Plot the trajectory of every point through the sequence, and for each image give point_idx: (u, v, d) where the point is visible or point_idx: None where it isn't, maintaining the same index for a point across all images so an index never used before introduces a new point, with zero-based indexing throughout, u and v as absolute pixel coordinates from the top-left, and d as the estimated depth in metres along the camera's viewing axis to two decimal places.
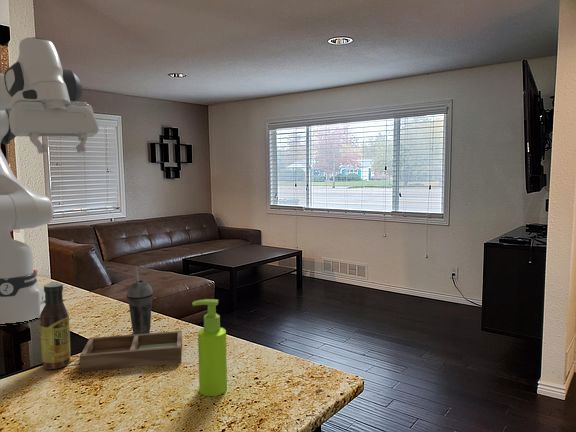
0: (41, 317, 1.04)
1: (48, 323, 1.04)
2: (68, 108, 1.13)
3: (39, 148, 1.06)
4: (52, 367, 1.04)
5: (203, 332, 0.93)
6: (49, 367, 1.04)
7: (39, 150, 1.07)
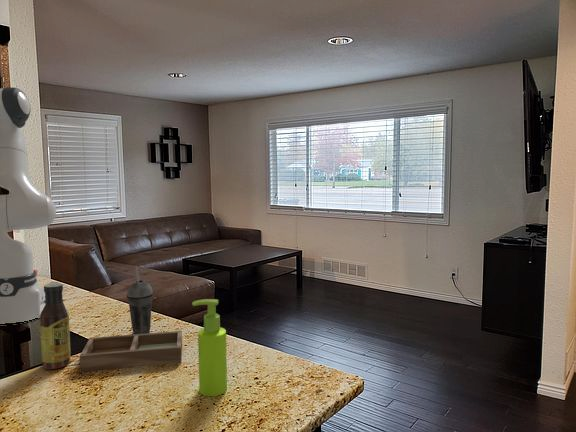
0: (41, 317, 1.04)
1: (48, 323, 1.04)
2: None
3: None
4: (52, 367, 1.04)
5: (203, 332, 0.93)
6: (49, 367, 1.04)
7: None
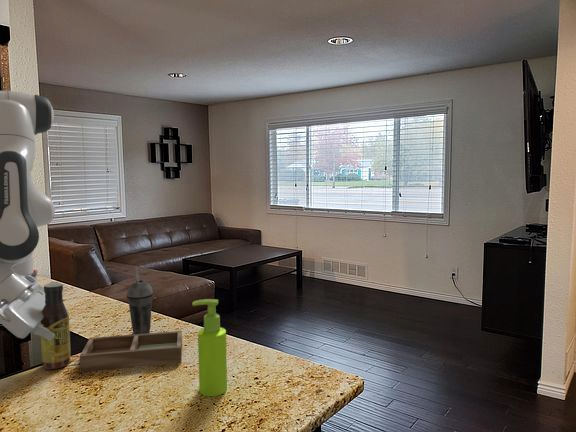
0: None
1: (48, 324, 1.03)
2: None
3: None
4: (52, 367, 1.04)
5: (203, 332, 0.93)
6: (49, 367, 1.04)
7: None
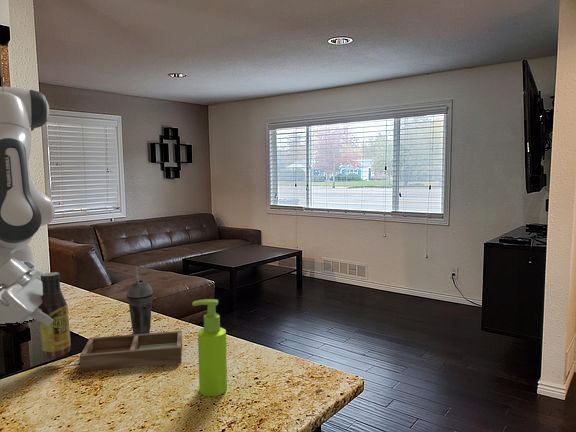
0: (39, 306, 1.04)
1: (46, 312, 1.03)
2: None
3: None
4: (52, 356, 1.04)
5: (203, 332, 0.93)
6: (49, 356, 1.04)
7: None
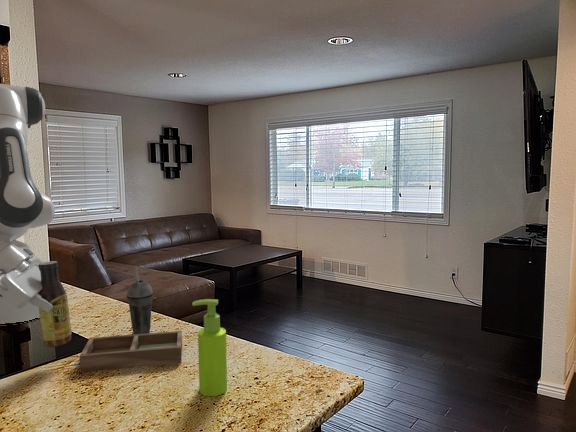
0: None
1: None
2: None
3: None
4: (53, 345, 1.04)
5: (203, 332, 0.93)
6: (50, 345, 1.04)
7: None
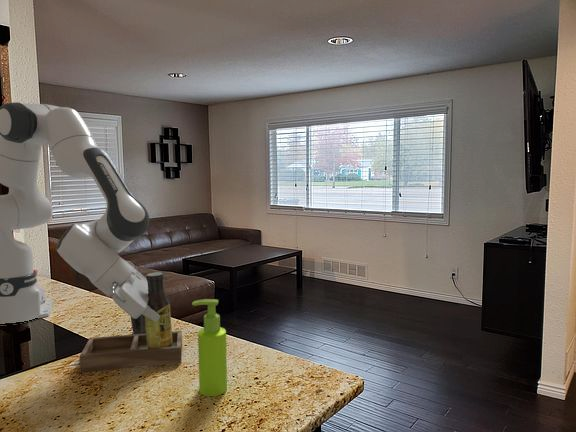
0: None
1: None
2: None
3: None
4: None
5: (203, 332, 0.93)
6: None
7: None
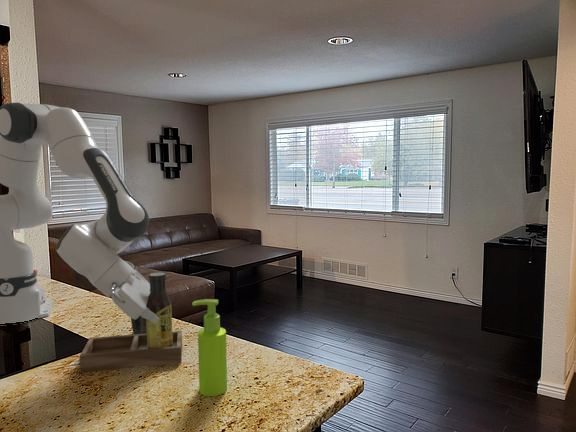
0: (147, 305, 1.09)
1: (155, 311, 1.08)
2: None
3: None
4: None
5: (203, 332, 0.93)
6: None
7: None
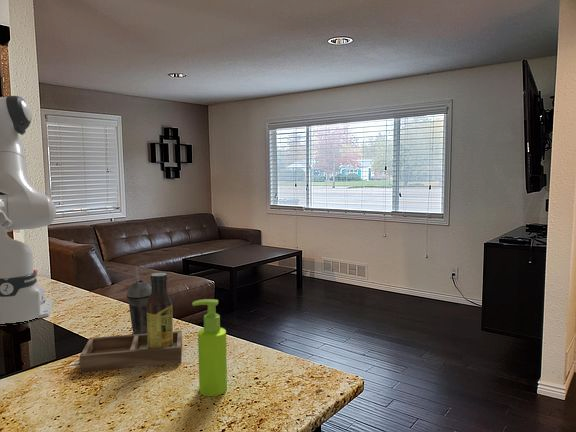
0: (148, 305, 1.09)
1: (156, 311, 1.09)
2: None
3: None
4: None
5: (203, 332, 0.93)
6: None
7: None
